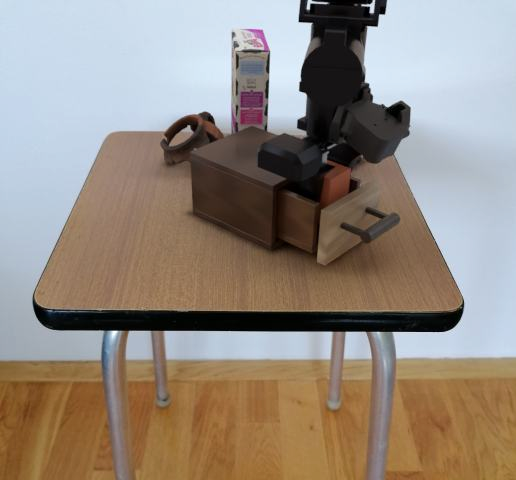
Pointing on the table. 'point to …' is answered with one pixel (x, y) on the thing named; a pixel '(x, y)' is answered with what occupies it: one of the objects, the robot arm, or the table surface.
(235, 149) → the cabinet
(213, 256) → the table surface
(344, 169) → the block
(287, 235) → the drawer
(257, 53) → the candy bar box
